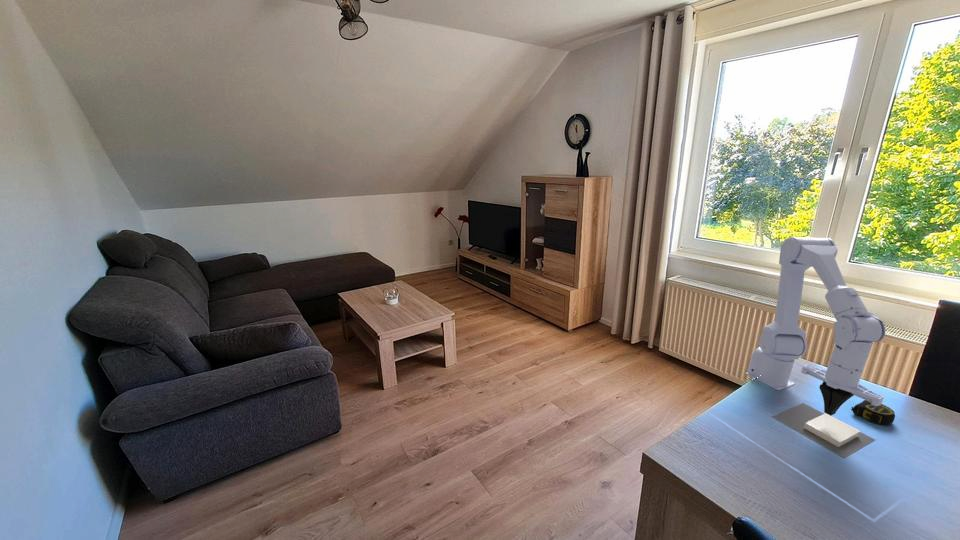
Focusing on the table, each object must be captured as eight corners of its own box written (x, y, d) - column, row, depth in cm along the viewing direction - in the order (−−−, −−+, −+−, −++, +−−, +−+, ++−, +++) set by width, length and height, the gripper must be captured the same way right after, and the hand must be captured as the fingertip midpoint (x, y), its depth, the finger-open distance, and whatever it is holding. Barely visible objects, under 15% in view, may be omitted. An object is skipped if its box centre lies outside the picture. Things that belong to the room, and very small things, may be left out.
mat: (771, 418, 97) (771, 416, 97) (802, 404, 103) (803, 402, 102) (843, 459, 84) (844, 458, 84) (875, 441, 90) (875, 439, 89)
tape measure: (862, 407, 101) (866, 396, 100) (897, 423, 95) (902, 411, 94) (848, 414, 99) (853, 402, 98) (883, 431, 93) (888, 419, 92)
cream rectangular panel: (805, 422, 92) (840, 442, 86) (825, 413, 96) (860, 431, 90) (803, 428, 93) (838, 448, 87) (823, 418, 96) (858, 436, 90)
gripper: (800, 353, 92) (786, 399, 96) (879, 385, 79) (859, 437, 83) (816, 347, 95) (802, 392, 99) (895, 377, 82) (875, 428, 86)
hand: (829, 412), depth 91 cm, fingers closed
